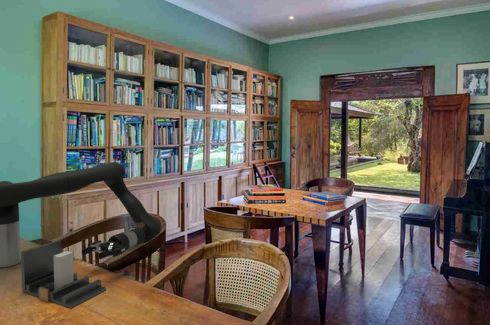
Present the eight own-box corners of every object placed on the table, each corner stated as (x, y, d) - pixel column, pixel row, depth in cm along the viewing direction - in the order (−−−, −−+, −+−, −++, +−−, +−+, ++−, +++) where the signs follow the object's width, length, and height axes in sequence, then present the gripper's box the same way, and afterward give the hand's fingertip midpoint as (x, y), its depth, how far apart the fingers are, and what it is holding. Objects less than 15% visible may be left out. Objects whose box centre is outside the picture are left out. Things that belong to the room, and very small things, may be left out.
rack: (20, 292, 118) (18, 252, 116) (59, 276, 131) (58, 239, 130) (69, 309, 108) (68, 265, 107) (106, 290, 121) (105, 250, 120)
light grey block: (54, 290, 118) (53, 255, 117) (67, 284, 122) (66, 251, 121) (60, 292, 117) (59, 257, 116) (73, 286, 121) (72, 252, 120)
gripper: (110, 230, 146) (76, 241, 131) (136, 235, 140) (104, 247, 126) (110, 247, 147) (77, 260, 132) (136, 253, 141) (105, 267, 126)
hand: (90, 254), depth 129 cm, fingers open, 8 cm apart
